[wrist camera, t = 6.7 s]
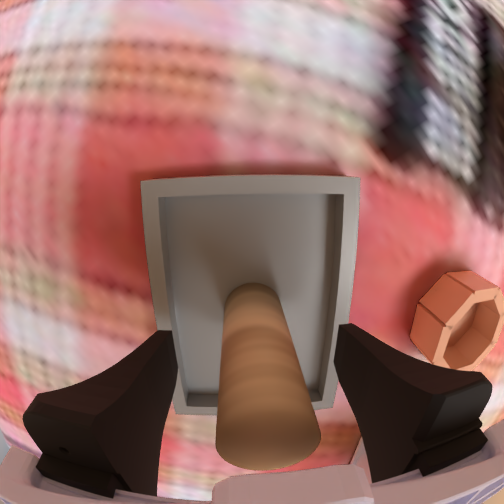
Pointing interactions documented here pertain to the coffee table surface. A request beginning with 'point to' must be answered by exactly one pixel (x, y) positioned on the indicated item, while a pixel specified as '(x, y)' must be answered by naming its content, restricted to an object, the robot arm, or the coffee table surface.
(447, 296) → the cup
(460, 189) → the coffee table surface
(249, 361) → the dowel
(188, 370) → the tray
